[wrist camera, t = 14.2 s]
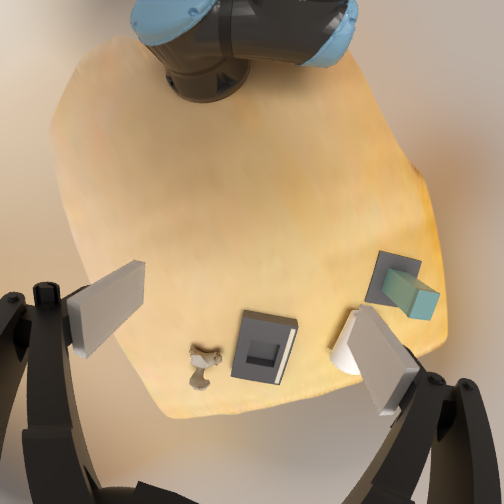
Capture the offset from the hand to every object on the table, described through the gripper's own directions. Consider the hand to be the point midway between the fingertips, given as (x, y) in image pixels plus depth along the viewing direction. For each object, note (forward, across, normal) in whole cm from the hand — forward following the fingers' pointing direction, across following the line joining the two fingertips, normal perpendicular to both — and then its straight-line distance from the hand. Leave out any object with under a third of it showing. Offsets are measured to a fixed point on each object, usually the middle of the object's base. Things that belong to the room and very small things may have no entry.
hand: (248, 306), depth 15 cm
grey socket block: (+31, +5, -22) cm, 39 cm away
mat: (+32, +27, -4) cm, 42 cm away
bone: (+32, -7, -27) cm, 42 cm away
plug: (+31, +27, -4) cm, 41 cm away
